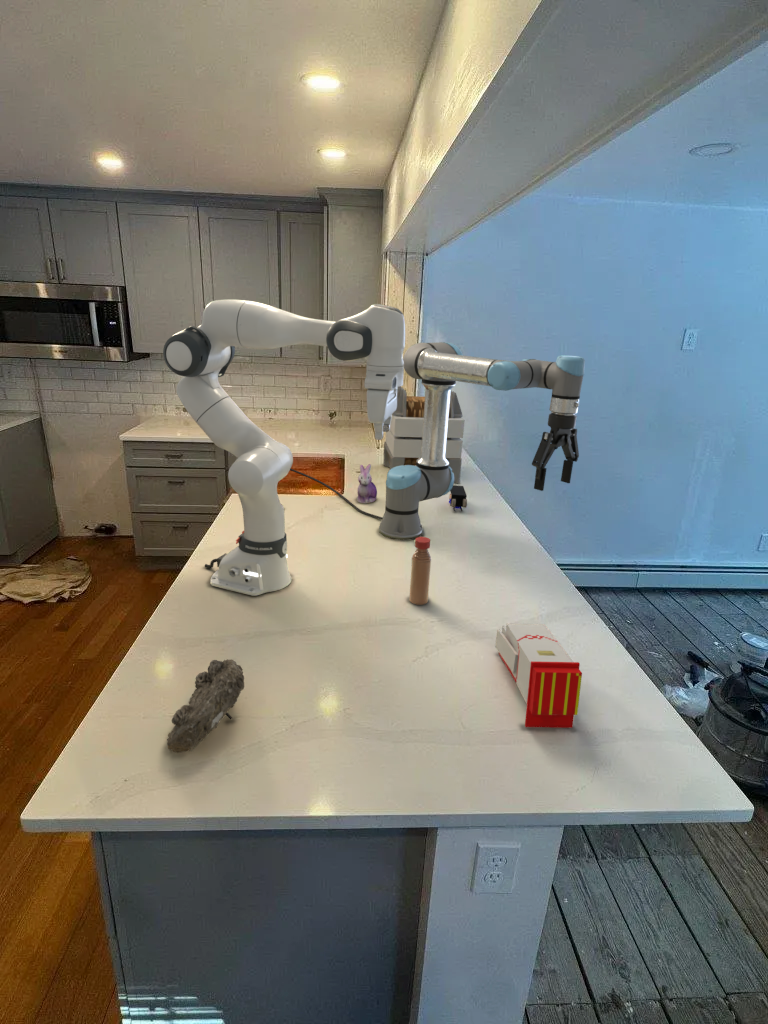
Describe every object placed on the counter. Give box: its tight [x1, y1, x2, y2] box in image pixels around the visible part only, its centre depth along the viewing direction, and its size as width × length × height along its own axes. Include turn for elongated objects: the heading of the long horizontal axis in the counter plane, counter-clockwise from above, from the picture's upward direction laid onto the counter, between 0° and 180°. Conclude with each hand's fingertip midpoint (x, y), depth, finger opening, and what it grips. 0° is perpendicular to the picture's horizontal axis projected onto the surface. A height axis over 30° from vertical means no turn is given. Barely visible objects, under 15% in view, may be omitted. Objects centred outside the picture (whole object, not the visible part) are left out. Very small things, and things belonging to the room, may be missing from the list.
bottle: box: [408, 548, 432, 606], centre depth 152 cm, size 5×5×18 cm
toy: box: [494, 623, 583, 729], centre depth 120 cm, size 12×13×30 cm
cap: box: [414, 536, 431, 550], centre depth 149 cm, size 4×4×2 cm
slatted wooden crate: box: [383, 386, 465, 484], centre depth 268 cm, size 34×33×41 cm
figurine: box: [356, 463, 378, 504], centre depth 230 cm, size 9×10×15 cm
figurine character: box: [448, 484, 468, 512], centre depth 228 cm, size 7×8×15 cm
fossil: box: [166, 658, 245, 754], centre depth 106 cm, size 22×10×15 cm
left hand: (382, 435), depth 139 cm, fingers open, 8 cm apart
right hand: (552, 485), depth 166 cm, fingers open, 13 cm apart
